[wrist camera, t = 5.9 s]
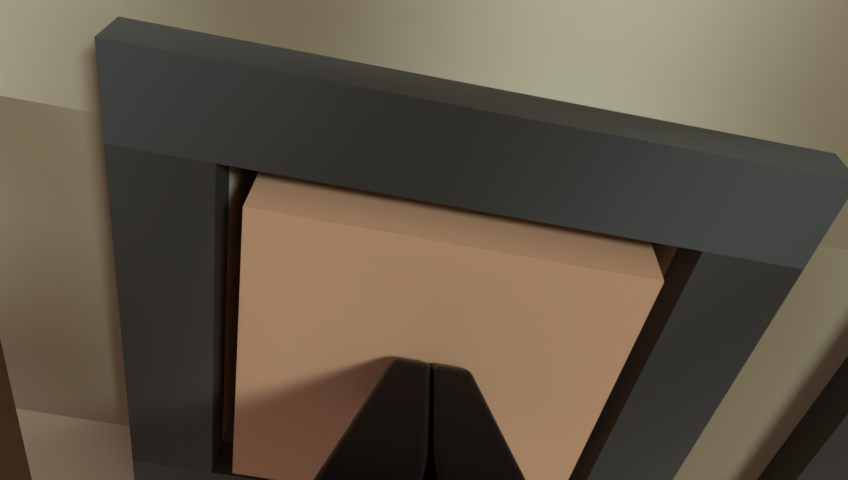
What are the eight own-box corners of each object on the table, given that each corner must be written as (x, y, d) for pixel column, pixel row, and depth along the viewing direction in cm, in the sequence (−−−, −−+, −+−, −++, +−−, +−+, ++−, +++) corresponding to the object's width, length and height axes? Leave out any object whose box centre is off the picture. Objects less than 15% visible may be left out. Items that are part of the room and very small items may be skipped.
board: (1505, -109, 10) (2412, 45, 5) (930, 485, 17) (1091, 756, 13) (121, -424, 8) (-270, -582, 4) (159, 359, 16) (39, 607, 12)
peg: (590, 66, 11) (663, 281, 7) (523, 269, 13) (548, 522, 9) (331, 16, 11) (243, 207, 7) (308, 231, 13) (232, 473, 9)
